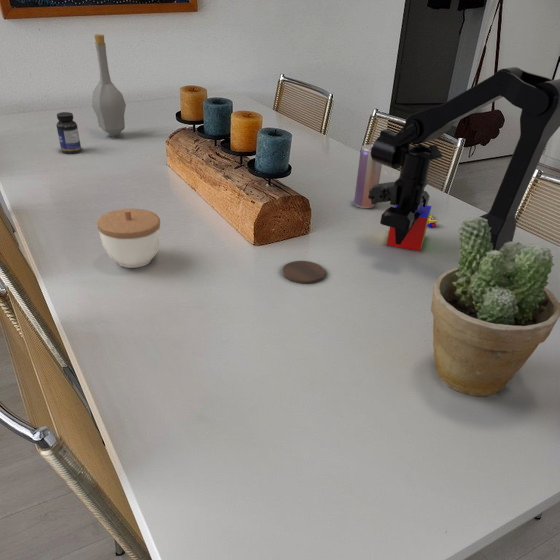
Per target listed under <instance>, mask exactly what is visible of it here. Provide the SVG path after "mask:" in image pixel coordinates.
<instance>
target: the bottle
mask: <svg viewBox="0 0 560 560" xmlns="http://www.w3.org/2000/svg"><path fill="white" fill-rule="evenodd" d="M93 35H94V44H95V50H96V55H97V62H98V69H99V81H98V83H97V84H96V86H95V87H94V89H93V90H92V98H91V99H92V100H91V101H92V102H91V107H92V109H93V112H94V113H95V115H96V119H97V124H98V127H99V128H100V129H101V130H102V131H104V132H106V133H107V134H108V135H109V136H112V137H116V136H118V135H120V134H121V133H122V132H123V131H124V130H125V128H126V123H125V113H126V107H127V103H126V101H125V98H124V95H123V93H122V92H121V91H120V90H119V89H118V88H117V86H116V85H115V84H114V83H113V82H112V79H111V76H110V70H109V63H108V56H107V49H106V48H107V45H106V41H105V34H100V33H96V34H93Z"/></svg>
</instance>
